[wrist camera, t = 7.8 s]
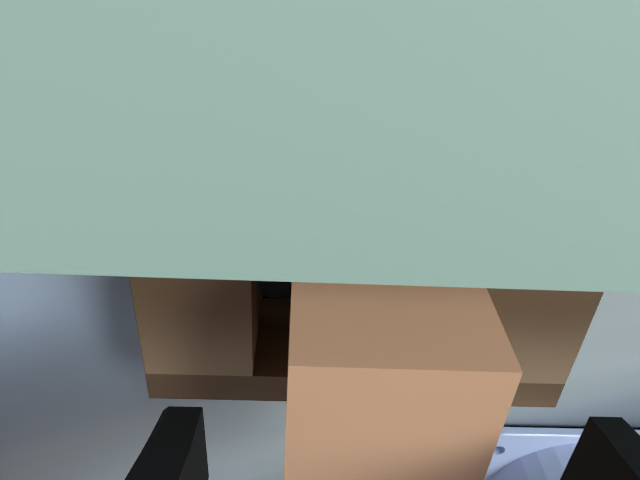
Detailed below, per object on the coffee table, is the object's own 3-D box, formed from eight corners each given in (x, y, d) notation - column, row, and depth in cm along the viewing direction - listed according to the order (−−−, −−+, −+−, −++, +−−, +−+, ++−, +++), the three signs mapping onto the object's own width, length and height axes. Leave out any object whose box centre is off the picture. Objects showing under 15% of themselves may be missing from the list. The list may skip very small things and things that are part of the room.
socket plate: (518, 327, 20) (555, 407, 17) (173, 317, 19) (149, 398, 16) (645, -57, 13) (741, -37, 10) (125, -88, 13) (71, -76, 10)
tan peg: (413, 277, 18) (474, 507, 12) (292, 272, 18) (283, 504, 12) (434, 166, 16) (522, 373, 10) (296, 160, 16) (288, 365, 9)
